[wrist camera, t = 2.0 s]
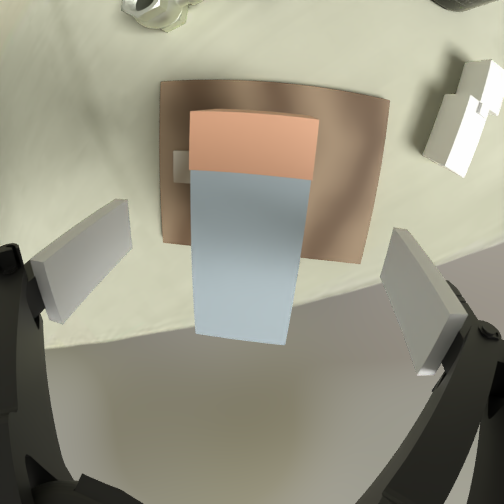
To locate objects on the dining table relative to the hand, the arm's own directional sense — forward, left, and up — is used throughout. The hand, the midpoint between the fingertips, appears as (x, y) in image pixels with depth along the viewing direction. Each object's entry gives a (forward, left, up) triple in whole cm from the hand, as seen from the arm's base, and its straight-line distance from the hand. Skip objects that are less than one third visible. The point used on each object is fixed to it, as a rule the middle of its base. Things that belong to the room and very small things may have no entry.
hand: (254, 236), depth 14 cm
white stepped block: (+18, +9, -15) cm, 25 cm away
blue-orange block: (0, 0, -5) cm, 5 cm away
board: (0, 0, -15) cm, 15 cm away
